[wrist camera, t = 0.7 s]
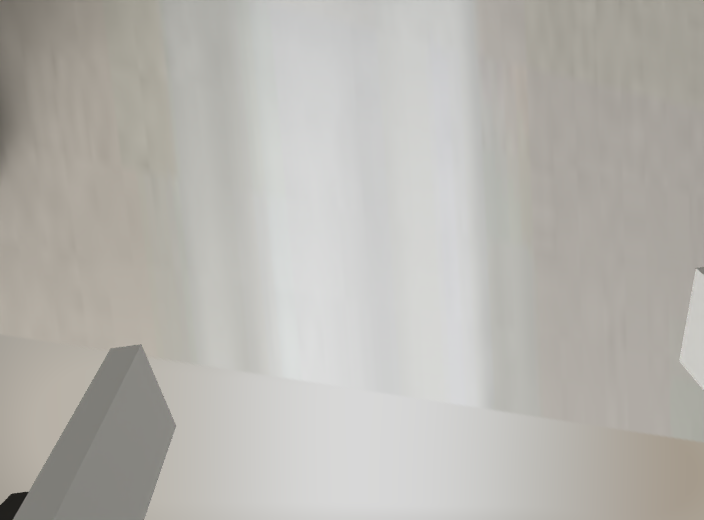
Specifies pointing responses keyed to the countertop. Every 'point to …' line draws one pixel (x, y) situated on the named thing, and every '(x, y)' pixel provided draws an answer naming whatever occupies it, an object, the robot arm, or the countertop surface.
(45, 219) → the countertop surface
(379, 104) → the countertop surface
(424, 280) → the countertop surface
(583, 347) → the countertop surface
